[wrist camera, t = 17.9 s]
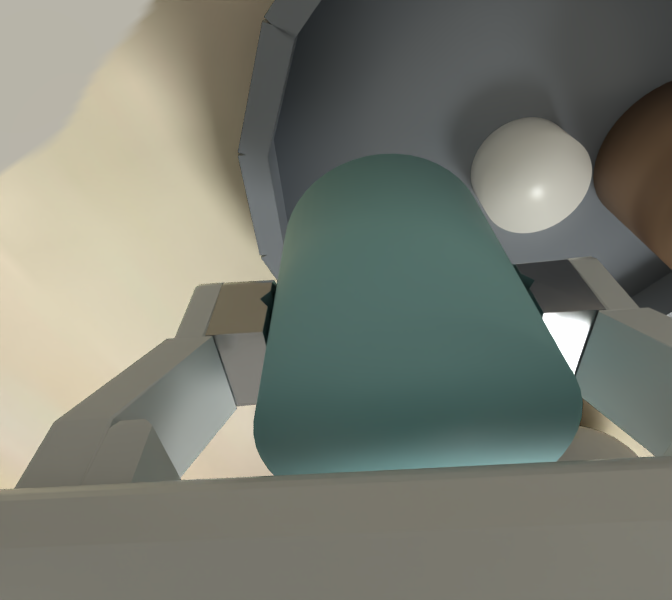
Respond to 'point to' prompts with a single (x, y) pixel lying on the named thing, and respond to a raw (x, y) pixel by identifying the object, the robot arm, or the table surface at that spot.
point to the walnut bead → (641, 171)
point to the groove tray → (461, 112)
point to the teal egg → (405, 334)
